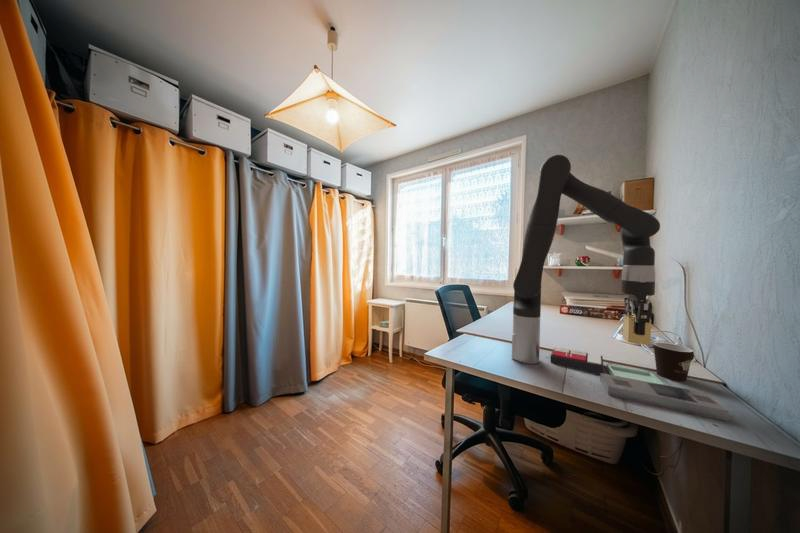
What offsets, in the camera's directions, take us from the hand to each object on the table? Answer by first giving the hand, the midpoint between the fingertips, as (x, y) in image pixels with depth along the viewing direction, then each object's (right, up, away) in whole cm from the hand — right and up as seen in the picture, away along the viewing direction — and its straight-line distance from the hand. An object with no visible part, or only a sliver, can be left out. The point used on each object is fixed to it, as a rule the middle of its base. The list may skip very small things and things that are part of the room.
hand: (635, 332), depth 75 cm
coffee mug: (+16, -16, +2) cm, 22 cm away
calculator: (-10, -16, +12) cm, 22 cm away
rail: (-4, -16, -10) cm, 19 cm away
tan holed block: (0, -3, 0) cm, 3 cm away
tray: (0, -15, 0) cm, 15 cm away
